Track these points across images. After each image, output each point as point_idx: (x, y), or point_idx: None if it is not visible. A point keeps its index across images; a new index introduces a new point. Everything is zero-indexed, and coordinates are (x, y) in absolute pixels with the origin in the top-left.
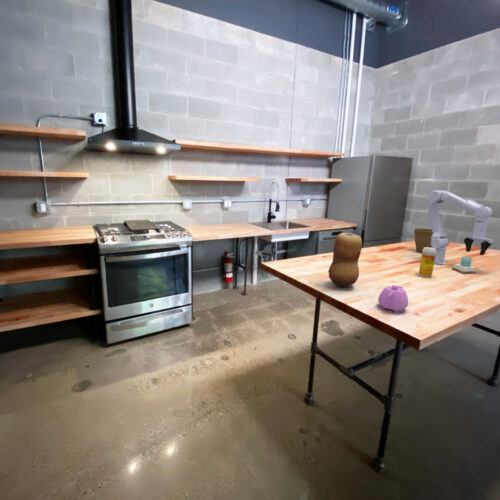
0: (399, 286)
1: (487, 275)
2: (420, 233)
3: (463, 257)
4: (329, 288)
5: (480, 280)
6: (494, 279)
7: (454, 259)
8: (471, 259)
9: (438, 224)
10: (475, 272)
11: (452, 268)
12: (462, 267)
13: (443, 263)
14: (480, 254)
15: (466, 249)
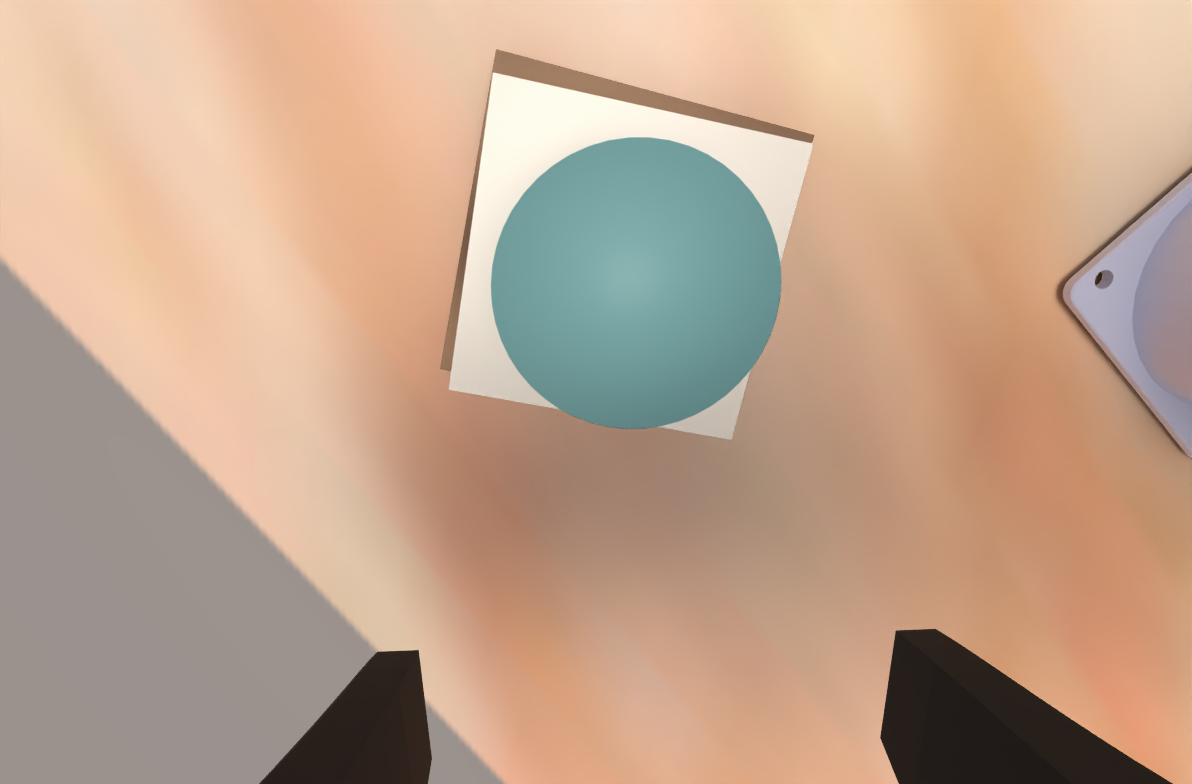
0: None
1: (347, 476)
2: None
3: (708, 224)
4: None
5: (72, 14)
6: (128, 373)
7: (1173, 779)
8: (499, 328)
9: None
10: (447, 343)
11: (792, 132)
12: (556, 88)
13: (1113, 314)
14: (398, 660)
15: (984, 670)
